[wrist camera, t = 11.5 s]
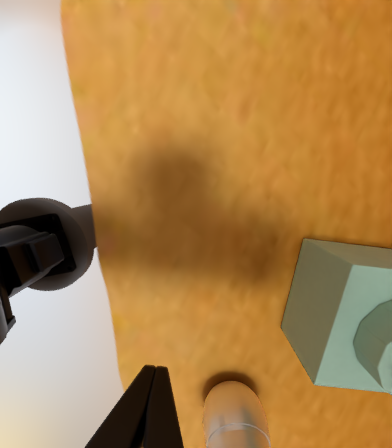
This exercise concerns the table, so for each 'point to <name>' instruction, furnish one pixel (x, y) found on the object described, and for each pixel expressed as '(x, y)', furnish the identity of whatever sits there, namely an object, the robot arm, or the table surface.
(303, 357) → the button base
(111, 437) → the robot arm
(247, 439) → the plastic bottle
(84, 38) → the table surface
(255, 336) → the table surface
